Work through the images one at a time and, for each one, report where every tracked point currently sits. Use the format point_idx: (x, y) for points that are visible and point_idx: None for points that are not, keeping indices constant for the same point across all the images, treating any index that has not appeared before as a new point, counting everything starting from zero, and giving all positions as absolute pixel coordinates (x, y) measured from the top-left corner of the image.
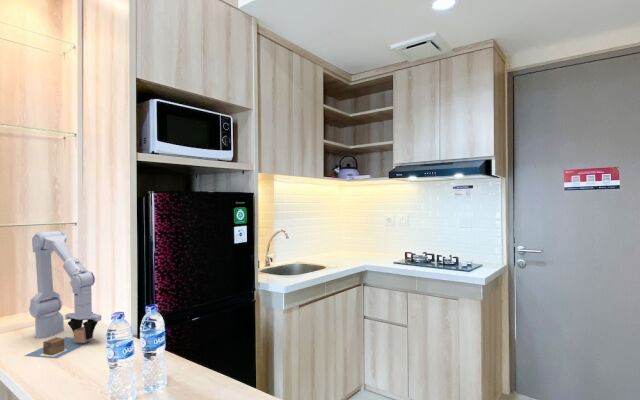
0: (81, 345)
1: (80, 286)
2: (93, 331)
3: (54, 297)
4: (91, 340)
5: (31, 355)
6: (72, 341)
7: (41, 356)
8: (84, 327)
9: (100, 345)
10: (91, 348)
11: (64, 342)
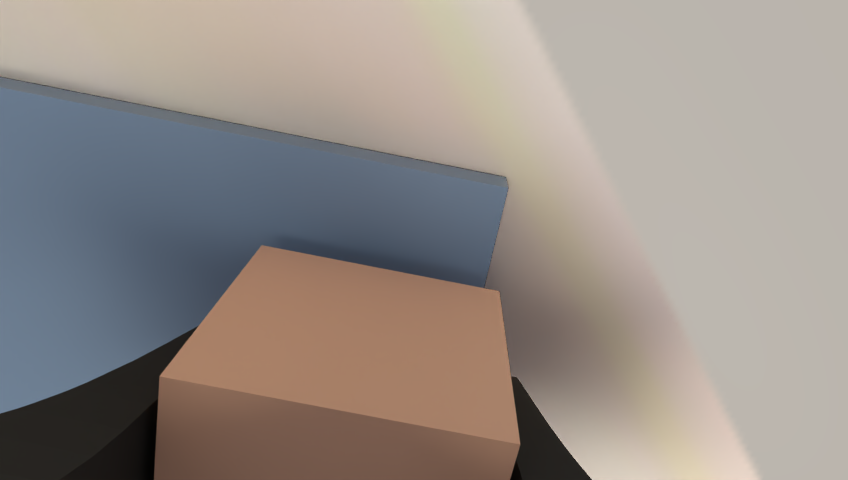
0: None
1: None
2: (562, 444)
3: None
4: (452, 254)
5: None
6: (113, 281)
7: None
8: (267, 455)
9: (690, 373)
10: (597, 473)
11: (4, 316)
